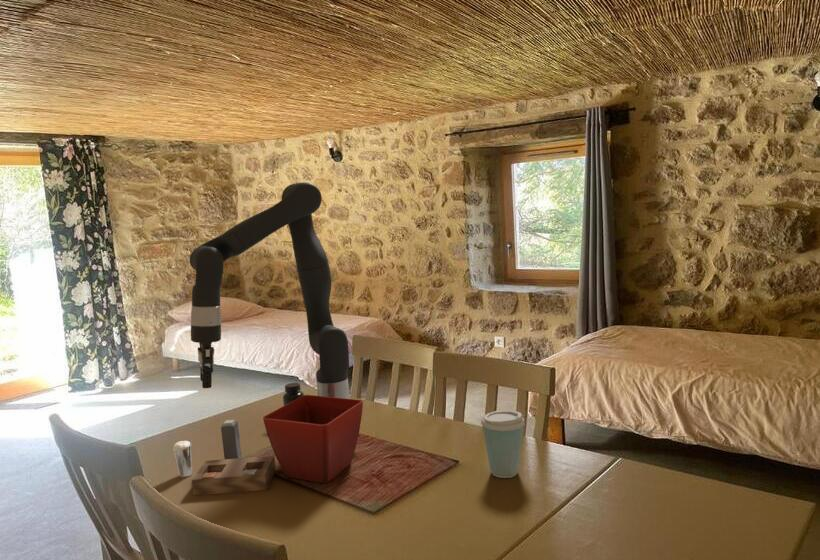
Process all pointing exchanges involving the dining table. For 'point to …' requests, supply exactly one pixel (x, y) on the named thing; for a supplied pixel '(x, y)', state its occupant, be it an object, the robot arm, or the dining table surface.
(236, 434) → the plug
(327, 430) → the plant pot
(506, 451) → the disposable coffee cup
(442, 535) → the dining table surface
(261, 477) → the port deck
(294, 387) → the supplement bottle
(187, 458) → the milkshake
